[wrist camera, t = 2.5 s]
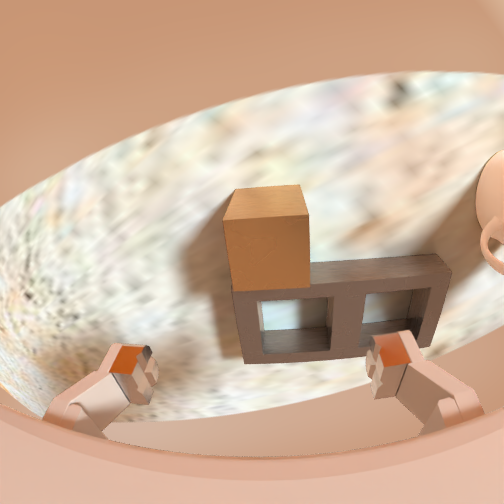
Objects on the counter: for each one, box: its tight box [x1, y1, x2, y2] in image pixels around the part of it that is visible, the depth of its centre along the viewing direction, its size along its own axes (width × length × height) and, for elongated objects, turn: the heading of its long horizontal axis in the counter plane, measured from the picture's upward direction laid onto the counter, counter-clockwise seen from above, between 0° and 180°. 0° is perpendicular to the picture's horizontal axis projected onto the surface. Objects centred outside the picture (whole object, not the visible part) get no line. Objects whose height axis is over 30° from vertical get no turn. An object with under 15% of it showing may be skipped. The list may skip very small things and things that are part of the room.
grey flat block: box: [231, 254, 452, 364], centre depth 24 cm, size 17×8×3 cm, turn 96°
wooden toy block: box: [223, 185, 310, 291], centre depth 19 cm, size 4×4×6 cm
